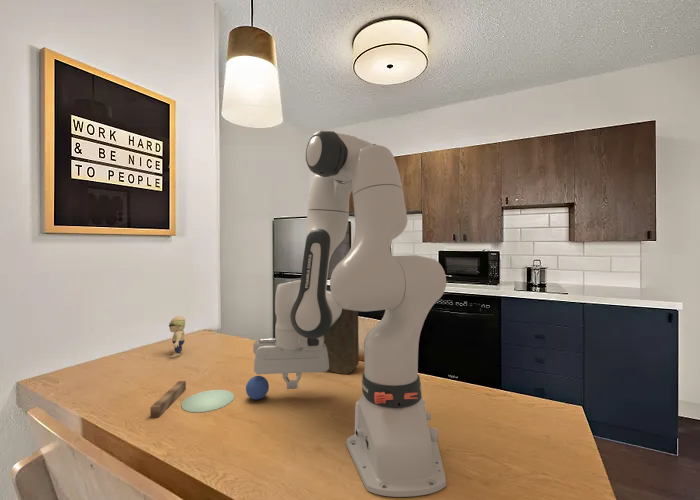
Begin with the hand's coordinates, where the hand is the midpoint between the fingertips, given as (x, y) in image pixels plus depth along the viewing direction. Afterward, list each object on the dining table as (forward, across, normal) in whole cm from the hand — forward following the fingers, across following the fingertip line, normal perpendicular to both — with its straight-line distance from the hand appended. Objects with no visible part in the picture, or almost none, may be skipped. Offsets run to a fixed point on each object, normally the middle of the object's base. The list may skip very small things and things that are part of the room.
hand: (292, 388), depth 93 cm
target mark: (+2, -22, 0) cm, 23 cm away
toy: (+3, -47, +41) cm, 63 cm away
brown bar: (+2, -32, 0) cm, 32 cm away
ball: (-1, -9, 0) cm, 9 cm away
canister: (+3, +11, +21) cm, 24 cm away
